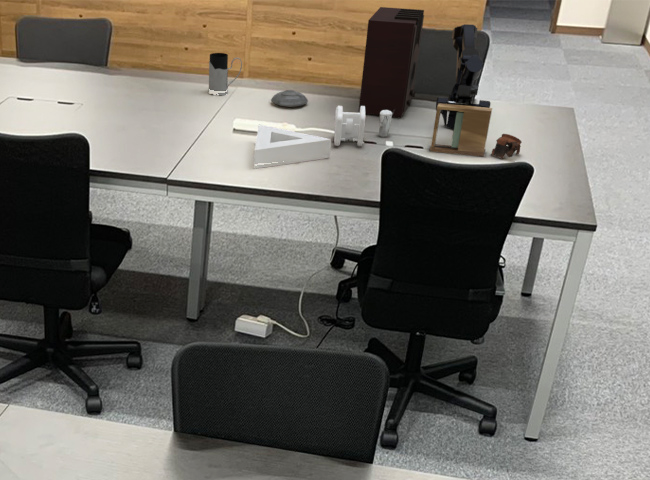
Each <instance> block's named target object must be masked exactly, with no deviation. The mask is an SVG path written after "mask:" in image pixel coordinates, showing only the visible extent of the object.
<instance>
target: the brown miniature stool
mask: <svg viewBox="0 0 650 480" xmlns="http://www.w3.org/2000/svg"><path fill="white" fill-rule="evenodd" d="M495 142H496V143H495V146H494V147H493V148H492V150H491V154H490V155H491V156H494V157H497V158H499V159H502V160H504V158H505V156H506V157H507V158H511V157H513V155H514V154H515V155H516V156H517V155H520V152H521V144H522V140H521V139H519V138H518V137H517V136H514V135H512V134H507V133H502V134H501V136H500V137H498V138H497V139H496V141H495Z"/></svg>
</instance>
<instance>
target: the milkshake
mask: <svg viewBox="0 0 650 480" xmlns="http://www.w3.org/2000/svg"><path fill="white" fill-rule="evenodd" d="M393 112H394V111H393ZM392 114H393V113H392V112H391V111H389V110H382V111H381V112H380V115H379V123H378V124H379V126H378V136H379V137H381V138H387V137H388V136H389V132H390V128H391V121H392V118H393V116H392Z"/></svg>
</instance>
